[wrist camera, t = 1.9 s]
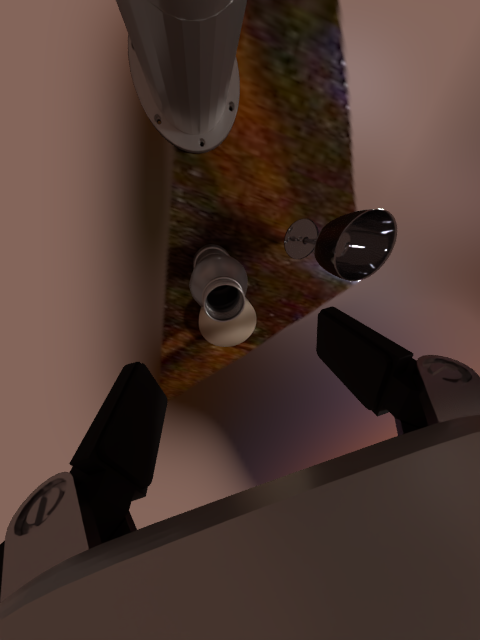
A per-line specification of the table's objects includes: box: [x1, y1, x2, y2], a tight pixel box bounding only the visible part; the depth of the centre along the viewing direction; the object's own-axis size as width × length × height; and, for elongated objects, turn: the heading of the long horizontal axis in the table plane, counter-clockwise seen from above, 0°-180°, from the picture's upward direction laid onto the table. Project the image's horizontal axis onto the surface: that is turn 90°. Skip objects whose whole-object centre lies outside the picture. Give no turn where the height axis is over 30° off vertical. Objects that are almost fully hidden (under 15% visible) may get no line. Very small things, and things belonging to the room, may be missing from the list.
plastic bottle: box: [190, 244, 248, 322], centre depth 23 cm, size 6×7×20 cm
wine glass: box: [284, 209, 397, 281], centre depth 27 cm, size 8×8×15 cm
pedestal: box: [199, 298, 256, 347], centre depth 36 cm, size 12×12×3 cm
